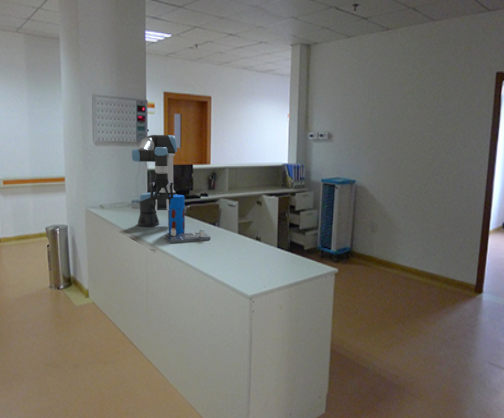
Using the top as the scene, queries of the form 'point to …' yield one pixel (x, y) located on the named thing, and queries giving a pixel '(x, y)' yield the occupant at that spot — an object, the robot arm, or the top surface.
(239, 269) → the top surface
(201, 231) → the fader
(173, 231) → the fader
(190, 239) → the console
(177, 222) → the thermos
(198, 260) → the top surface
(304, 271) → the top surface
